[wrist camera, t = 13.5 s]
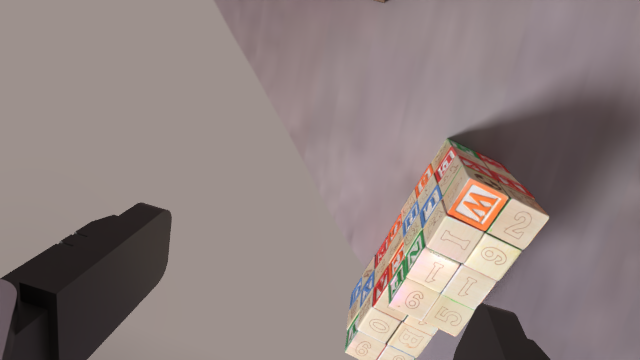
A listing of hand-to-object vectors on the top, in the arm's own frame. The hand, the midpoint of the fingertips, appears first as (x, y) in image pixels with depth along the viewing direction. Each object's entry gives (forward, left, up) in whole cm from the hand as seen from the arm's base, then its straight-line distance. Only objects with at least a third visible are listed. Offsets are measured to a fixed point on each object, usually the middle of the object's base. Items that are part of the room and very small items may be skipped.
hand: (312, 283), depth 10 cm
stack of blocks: (-9, +12, -30) cm, 34 cm away
